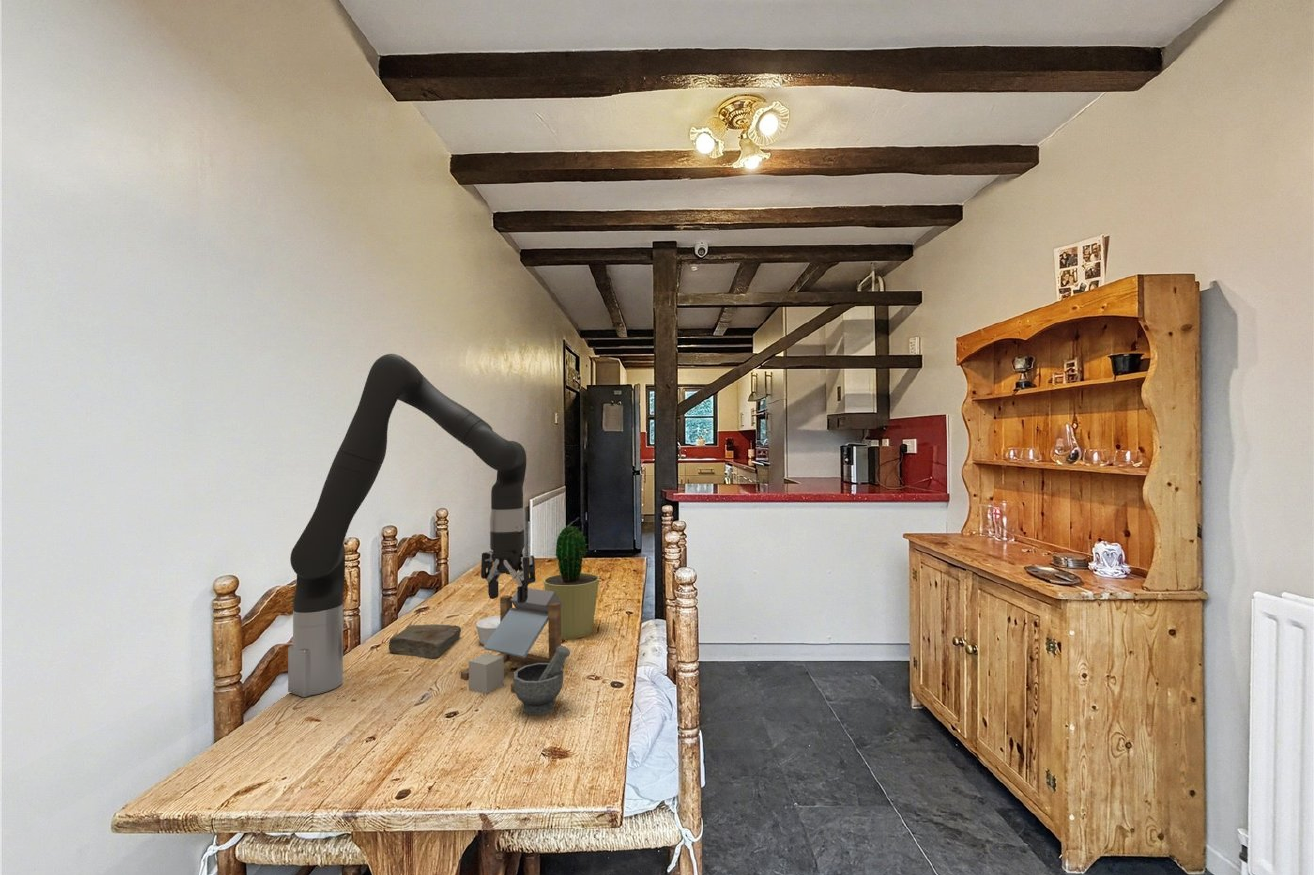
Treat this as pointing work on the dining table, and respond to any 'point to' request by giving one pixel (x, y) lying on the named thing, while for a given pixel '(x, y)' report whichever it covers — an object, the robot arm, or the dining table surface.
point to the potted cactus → (573, 585)
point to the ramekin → (487, 628)
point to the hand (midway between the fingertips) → (507, 600)
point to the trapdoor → (522, 624)
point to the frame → (554, 636)
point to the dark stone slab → (424, 640)
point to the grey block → (486, 673)
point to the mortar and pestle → (540, 683)
